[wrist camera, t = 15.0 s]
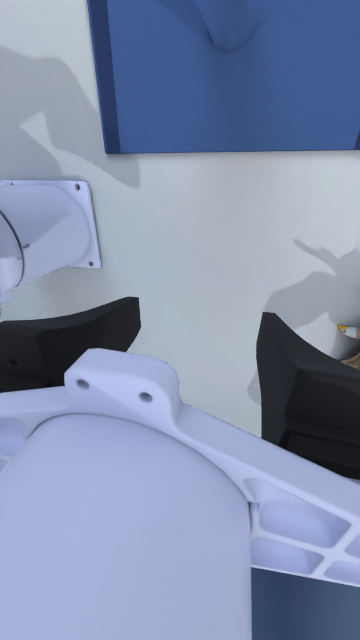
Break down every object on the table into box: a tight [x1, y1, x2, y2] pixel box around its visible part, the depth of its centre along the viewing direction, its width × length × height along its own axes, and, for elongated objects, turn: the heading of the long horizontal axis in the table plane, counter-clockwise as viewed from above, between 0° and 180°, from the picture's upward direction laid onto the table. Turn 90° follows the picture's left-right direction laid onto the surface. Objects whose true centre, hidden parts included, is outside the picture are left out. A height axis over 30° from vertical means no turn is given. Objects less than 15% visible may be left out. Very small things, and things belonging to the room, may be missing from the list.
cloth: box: [87, 0, 360, 154], centre depth 14 cm, size 20×14×1 cm
